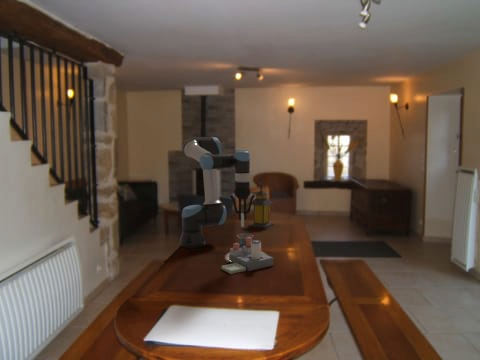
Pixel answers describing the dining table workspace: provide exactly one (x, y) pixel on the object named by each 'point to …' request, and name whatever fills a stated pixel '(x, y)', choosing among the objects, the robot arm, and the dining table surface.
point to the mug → (243, 239)
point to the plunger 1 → (235, 246)
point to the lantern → (261, 210)
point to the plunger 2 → (248, 241)
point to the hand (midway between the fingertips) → (242, 226)
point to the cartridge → (255, 250)
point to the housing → (249, 259)
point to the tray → (233, 268)
